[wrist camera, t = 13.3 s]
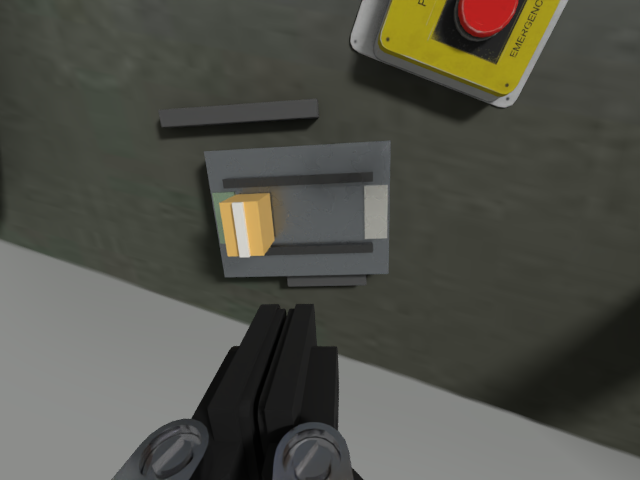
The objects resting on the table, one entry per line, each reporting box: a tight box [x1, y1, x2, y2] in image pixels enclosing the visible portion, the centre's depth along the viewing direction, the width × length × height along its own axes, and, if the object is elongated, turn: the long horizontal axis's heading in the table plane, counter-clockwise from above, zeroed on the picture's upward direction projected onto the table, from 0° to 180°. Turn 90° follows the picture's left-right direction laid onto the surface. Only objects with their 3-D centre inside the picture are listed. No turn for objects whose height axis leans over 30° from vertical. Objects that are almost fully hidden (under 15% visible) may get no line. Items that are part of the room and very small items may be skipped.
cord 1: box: [158, 99, 319, 128], centre depth 26 cm, size 14×1×1 cm, turn 93°
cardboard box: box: [219, 193, 275, 258], centre depth 25 cm, size 3×4×4 cm
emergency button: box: [350, 0, 568, 108], centre depth 22 cm, size 9×4×15 cm
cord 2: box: [287, 274, 366, 287], centre depth 31 cm, size 8×1×1 cm, turn 93°
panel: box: [204, 141, 391, 277], centre depth 28 cm, size 16×12×3 cm
